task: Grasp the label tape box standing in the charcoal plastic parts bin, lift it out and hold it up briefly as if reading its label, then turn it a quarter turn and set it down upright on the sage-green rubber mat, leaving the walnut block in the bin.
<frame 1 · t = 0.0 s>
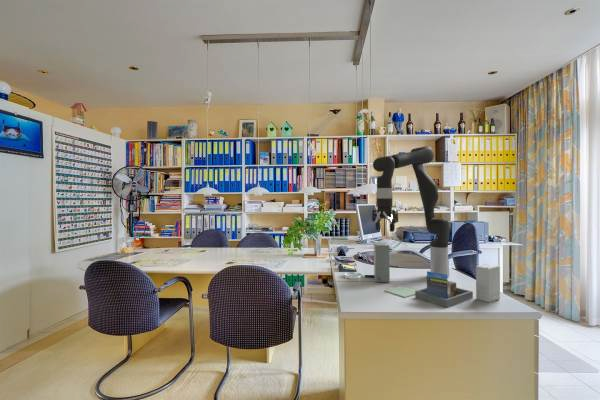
hand: (384, 230, 143), 29 cm above the table, fingers open, 8 cm apart
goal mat: (402, 292, 140), on the table
hard drive box: (381, 279, 164), on the table
parts bin: (443, 297, 131), on the table
walnut block: (448, 295, 135), resting in parts bin
skincare box: (488, 299, 129), on the table
label tape box: (438, 300, 129), resting in parts bin
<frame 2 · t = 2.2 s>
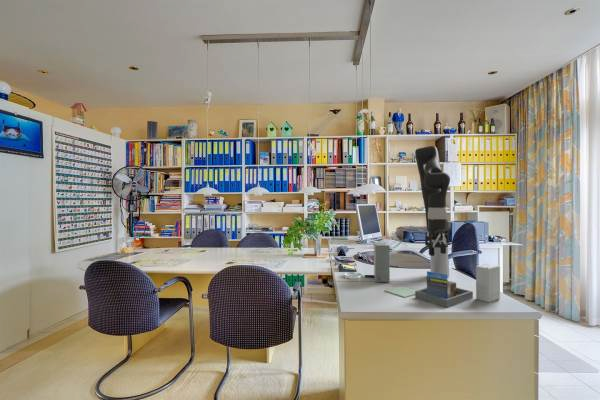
hand: (437, 254, 129), 20 cm above the table, fingers open, 8 cm apart
nothing on the table moved.
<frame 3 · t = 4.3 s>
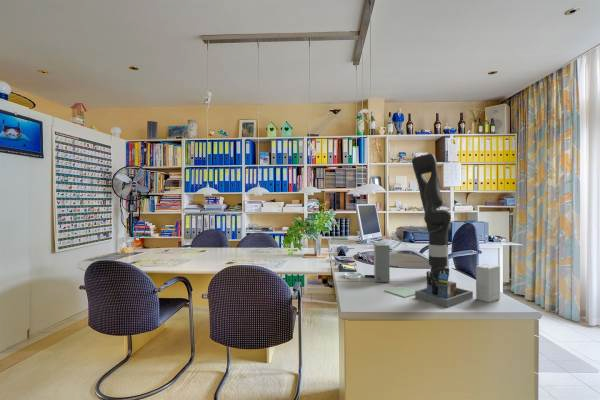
hand: (438, 293, 129), 3 cm above the table, fingers closed on label tape box, 4 cm apart
label tape box: (438, 300, 129), resting in parts bin, touching gripper
everything else where it was.
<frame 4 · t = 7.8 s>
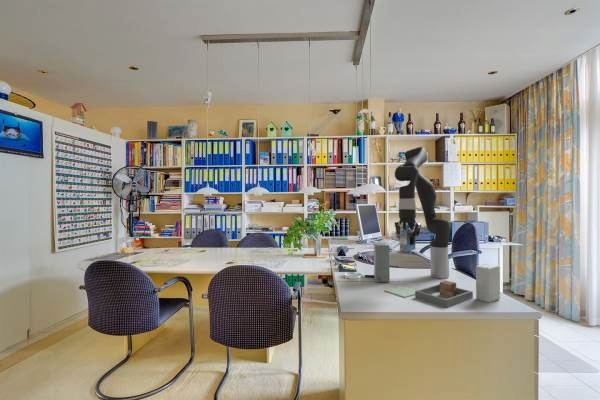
hand: (407, 244, 138), 23 cm above the table, fingers closed on label tape box, 4 cm apart
label tape box: (408, 250, 138), point 20 cm above the table, touching gripper
everything else where it was.
when the fingers open (4 cm above the table, at t = 11.4 s): label tape box stays where it is, resting on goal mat.
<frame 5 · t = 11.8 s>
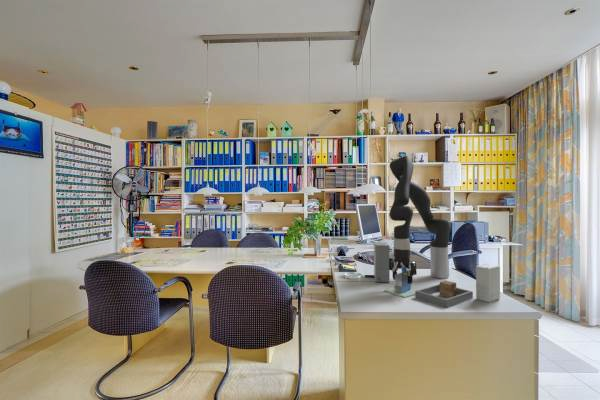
hand: (402, 281, 140), 5 cm above the table, fingers open, 8 cm apart
label tape box: (403, 291, 140), resting on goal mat
everything else where it was.
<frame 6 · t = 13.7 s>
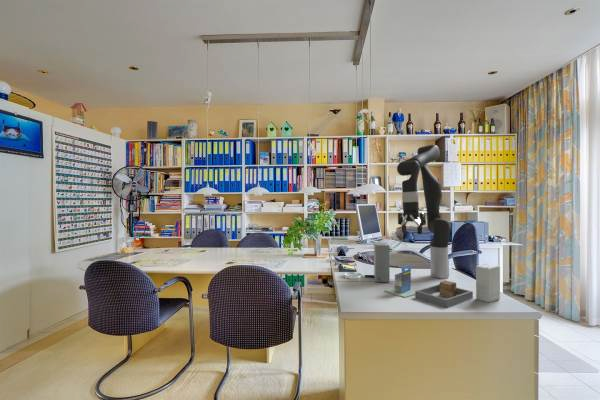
hand: (412, 233, 145), 27 cm above the table, fingers open, 8 cm apart
nothing on the table moved.
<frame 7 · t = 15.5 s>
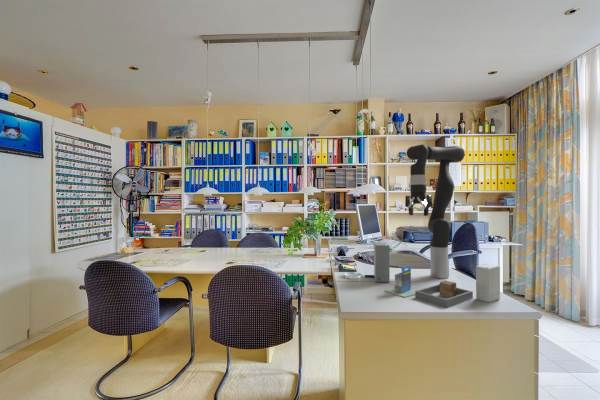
hand: (418, 215, 151), 36 cm above the table, fingers open, 8 cm apart
nothing on the table moved.
at the end: label tape box inside the target area on the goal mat (0.2 cm from its centre), point 0.3 cm above the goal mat's base; label tape box tilted 0°; the gripper is holding nothing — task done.
